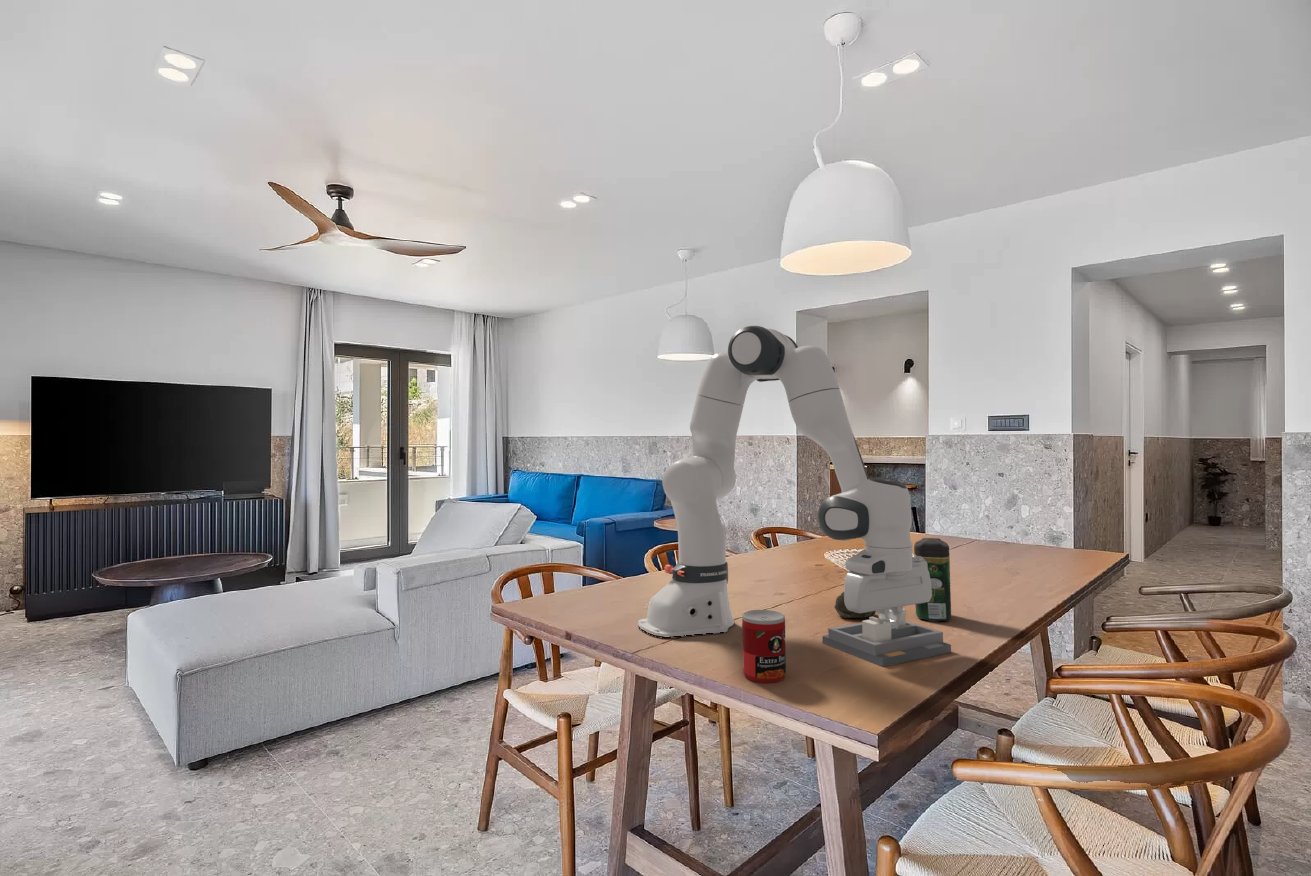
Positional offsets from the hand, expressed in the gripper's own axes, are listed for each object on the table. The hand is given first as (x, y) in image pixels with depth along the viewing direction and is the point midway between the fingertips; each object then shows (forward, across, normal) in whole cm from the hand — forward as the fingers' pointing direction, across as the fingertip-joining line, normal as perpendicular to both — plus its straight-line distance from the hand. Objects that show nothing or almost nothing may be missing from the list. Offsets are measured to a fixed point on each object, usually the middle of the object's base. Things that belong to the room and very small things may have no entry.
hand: (889, 629), depth 134 cm
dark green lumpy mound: (+5, -15, -26) cm, 30 cm away
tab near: (+3, +4, 0) cm, 5 cm away
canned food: (+5, +30, -1) cm, 30 cm away
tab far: (+3, -6, -6) cm, 9 cm away
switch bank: (+5, -2, -3) cm, 6 cm away
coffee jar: (+5, -28, -15) cm, 32 cm away
